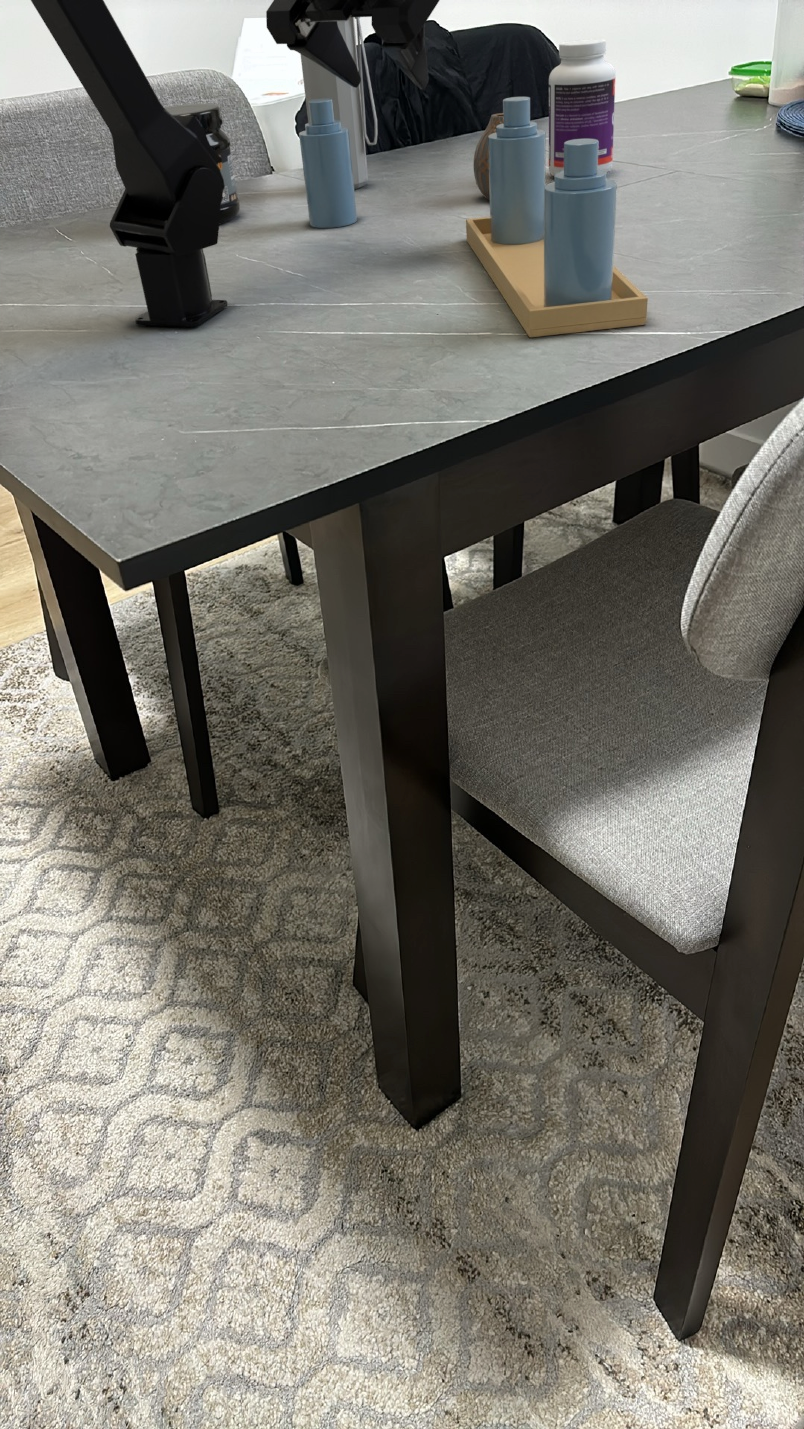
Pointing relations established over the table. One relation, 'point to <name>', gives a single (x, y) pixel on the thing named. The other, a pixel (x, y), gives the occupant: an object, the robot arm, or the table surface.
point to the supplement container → (221, 145)
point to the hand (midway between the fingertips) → (390, 85)
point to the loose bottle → (327, 168)
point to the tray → (524, 282)
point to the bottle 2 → (579, 229)
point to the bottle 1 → (517, 176)
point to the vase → (485, 156)
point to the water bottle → (344, 98)
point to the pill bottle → (581, 101)
